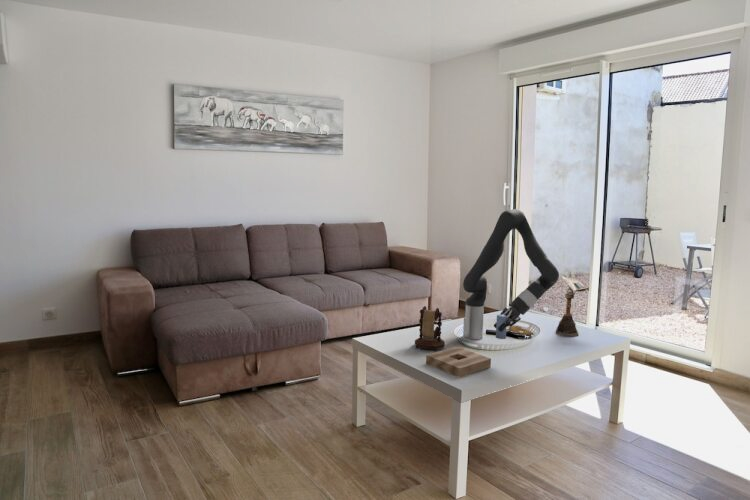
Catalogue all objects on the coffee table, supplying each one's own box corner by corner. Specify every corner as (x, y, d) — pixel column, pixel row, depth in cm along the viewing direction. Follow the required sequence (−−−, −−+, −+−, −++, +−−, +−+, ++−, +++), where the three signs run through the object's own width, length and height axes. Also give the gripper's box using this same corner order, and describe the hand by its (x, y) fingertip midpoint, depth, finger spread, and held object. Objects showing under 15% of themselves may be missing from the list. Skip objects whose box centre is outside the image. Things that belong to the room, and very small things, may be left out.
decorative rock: (501, 333, 282) (519, 342, 269) (501, 325, 282) (519, 334, 268) (518, 329, 287) (536, 338, 274) (518, 322, 286) (537, 330, 273)
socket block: (425, 363, 232) (426, 355, 231) (456, 354, 244) (457, 346, 244) (459, 377, 216) (459, 368, 216) (490, 367, 229) (490, 358, 228)
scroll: (409, 348, 252) (410, 308, 249) (421, 340, 265) (422, 302, 262) (438, 353, 245) (439, 312, 243) (449, 345, 258) (450, 305, 256)
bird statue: (592, 336, 276) (597, 271, 271) (576, 340, 269) (580, 273, 265) (567, 328, 290) (571, 267, 285) (551, 331, 284) (555, 268, 279)
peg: (493, 337, 233) (494, 315, 232) (499, 335, 236) (501, 314, 234) (501, 339, 230) (502, 317, 228) (507, 337, 232) (509, 316, 231)
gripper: (512, 292, 238) (485, 319, 238) (525, 300, 224) (497, 327, 224) (522, 303, 240) (496, 329, 240) (536, 311, 226) (508, 339, 226)
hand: (497, 328), depth 232 cm, fingers closed on peg, 4 cm apart
